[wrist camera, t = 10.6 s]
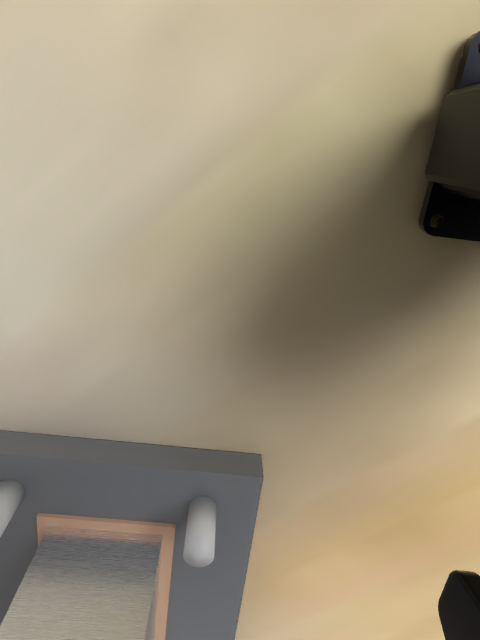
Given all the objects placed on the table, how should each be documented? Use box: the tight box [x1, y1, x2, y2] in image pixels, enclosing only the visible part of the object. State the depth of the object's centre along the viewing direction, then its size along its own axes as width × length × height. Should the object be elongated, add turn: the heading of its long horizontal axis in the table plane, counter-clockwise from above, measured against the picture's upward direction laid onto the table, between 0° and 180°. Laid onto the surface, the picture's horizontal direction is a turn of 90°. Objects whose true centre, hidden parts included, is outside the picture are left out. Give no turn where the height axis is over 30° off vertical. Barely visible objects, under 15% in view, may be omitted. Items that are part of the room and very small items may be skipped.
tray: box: [0, 430, 263, 640], centre depth 21 cm, size 13×16×4 cm
